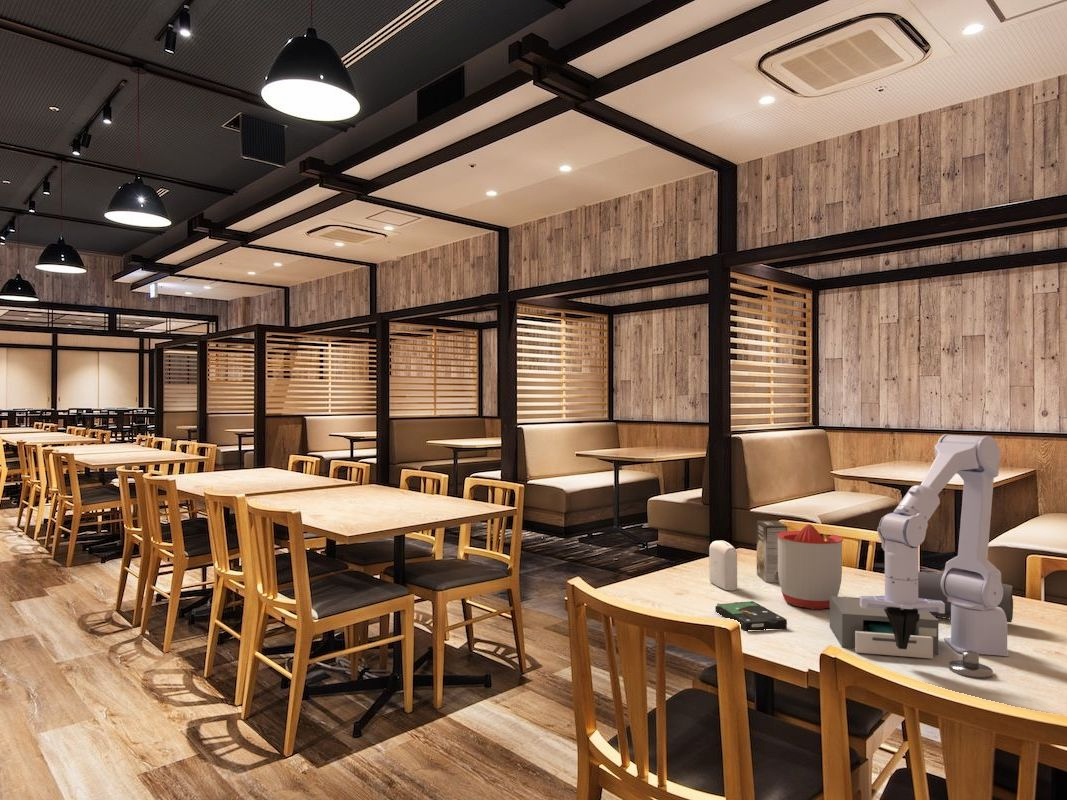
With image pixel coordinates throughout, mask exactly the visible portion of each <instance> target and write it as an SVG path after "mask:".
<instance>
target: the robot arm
mask: <svg viewBox="0 0 1067 800" xmlns="http://www.w3.org/2000/svg"><path fill="white" fill-rule="evenodd" d="M934 456H935V458H934V460H933V462H932V464H931V466H930V468H929V469H928V471H927V472H926V474H925V476H924V478H922V479H923V480H922V482H921V484H918V485H912V486H911V487H910V488H909V489H908V491H907V492H906V494H905V495H904V496H903V497H902V499H901V501H900V502H899V504H898V505H897V506H896V507H895V509H894V510H893V512H890V513H887V514H886V515H883V517H881V519H880V521H879V524H878V527H877V530H876V531H877V535H878V537H879V539H880V541H881V548H882V551H884V595H859V598H860V607H861V608H863V609H868V608H879V609H884V611H885V613H886V615H887V617H888V619H889V621H890V624H891V626H892V629H893V632H894V636H895V641H896V646H897V647H898V648H899V649H907V645H908V641H909V638H910V635H911V633H912V631H913V629H914V627H915V625H916V624H917V622H918V621H919V618H920V614H919V613H918V611H928V612H938V613H945V603H943V602H942V601H939V600H929V599H922V598H918V572H919V546H921V544H923V542H924V541H925V538H926V536H927V535H926V534H927V529H928V528H929V527H928V526H929V524H928V521H929V520H930V519H931V517H932V515H933V514H934V512H935V511H936V510H937V508H938V507H939V506H940V504H941V499H940V497H939V494H940V492H942V490H943V489H944V488H945V487H946V486H947V485H948V483H949V482H950V481H951V480H952V479H953V477H955V475H956V474H957V475H959V477H960V478H961V479H962V480H963V486H962V487H963V491H962V502H961V504H962V505H961V511H960V512H961V513H960V523H959V524H960V525H959V527H960V528H959V539H958V550H957V555H956V556H954V557H952V558H951V559H949V560H948V561H946V562H945V566H944V571H943V573H942V574H943V576H942V578H941V589H942V591H943V594H944V595H945V596H946V597H947V601H948V602H951V619H950V637H943V640H944V642H945V643H946V644H947V645H948V646H949V647H951V648H952V649H953V650H954V651H955V652H957V653H961V654H963V651H964V650H968V651H974V652H977V653H978V654H979V655H990V656H999V657H1000V656H1001V657H1009V656H1010V654H1009V652H1008V622H1007V618H1006V615H1005V612H1004V611H1003V609H1002V608H1000V607H997V606H998V605H999V604H1000V602H1001V600H1002V598H1003V587H1002V571H1000V570H999V569H998V568H997V567H996V566H995V565H994V564H993V563H992V562H990V560H989V559H988V556H989V555H988V554H989V553H988V552H989V544H990V531H991V520H992V519H991V517H992V503H993V495H994V493H993V492H994V482H995V478H998V477H999V471H1000V461H1001V460H1000V459H1001V447H1000V446H999V444H998V442H997V441H996V440H995V437H992V436H990V435H983V436H979V435H959V434H951V433H950V434H947V433H944V434H943V435H941V436H940V437H939V438H938V440H937V442H936V444H935V445H934ZM973 572H974V573H973Z"/></svg>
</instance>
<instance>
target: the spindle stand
mask: <svg viewBox="0 0 1067 800" xmlns="http://www.w3.org/2000/svg"><path fill="white" fill-rule="evenodd" d="M979 657H980V654H978V653H977V652H974V651H968V650H964V651H963V653H962V660H961V659H956V660H951V661H949V663H948V669H949V670H950V671H951V672H952V673H955V674H956V673H957V675H959V676H962V677H966V678H970V677H971V678H972V679H977V680H978V679H979V680H985V679H987V678H988V679H991V678H993V676H994V670H993V669H992V668H991V667H989V666H987V665H985V664H983V663H980V661H979V660H980V659H979Z"/></svg>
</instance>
